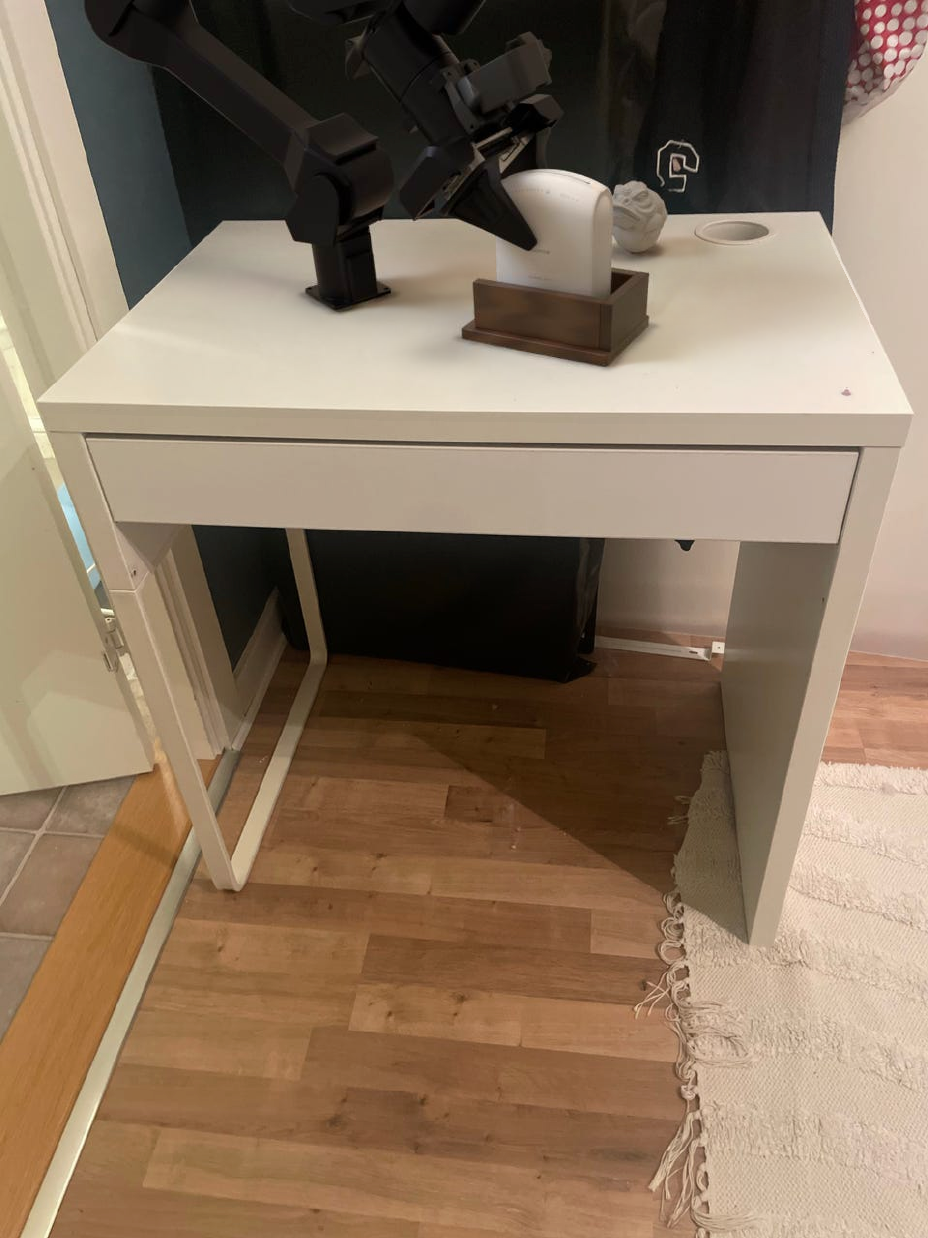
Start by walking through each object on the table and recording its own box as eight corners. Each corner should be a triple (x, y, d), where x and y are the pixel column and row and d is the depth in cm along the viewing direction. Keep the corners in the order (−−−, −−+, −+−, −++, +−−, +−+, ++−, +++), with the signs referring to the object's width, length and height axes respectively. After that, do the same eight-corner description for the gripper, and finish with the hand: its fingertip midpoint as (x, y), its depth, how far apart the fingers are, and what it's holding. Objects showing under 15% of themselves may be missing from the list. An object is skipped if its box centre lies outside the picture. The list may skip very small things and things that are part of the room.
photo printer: (490, 320, 85) (484, 171, 77) (515, 303, 87) (512, 158, 79) (594, 341, 80) (598, 185, 72) (617, 322, 83) (624, 170, 75)
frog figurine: (590, 256, 98) (591, 184, 94) (629, 236, 102) (632, 167, 98) (639, 267, 95) (643, 194, 91) (677, 247, 99) (683, 175, 94)
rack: (461, 338, 84) (458, 282, 81) (510, 302, 90) (509, 248, 87) (606, 366, 78) (608, 307, 75) (648, 326, 84) (652, 269, 81)
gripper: (416, 19, 65) (559, 206, 67) (542, -20, 77) (660, 140, 79) (340, 136, 73) (470, 298, 76) (464, 84, 85) (573, 226, 88)
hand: (548, 237), depth 79 cm, fingers open, 5 cm apart
